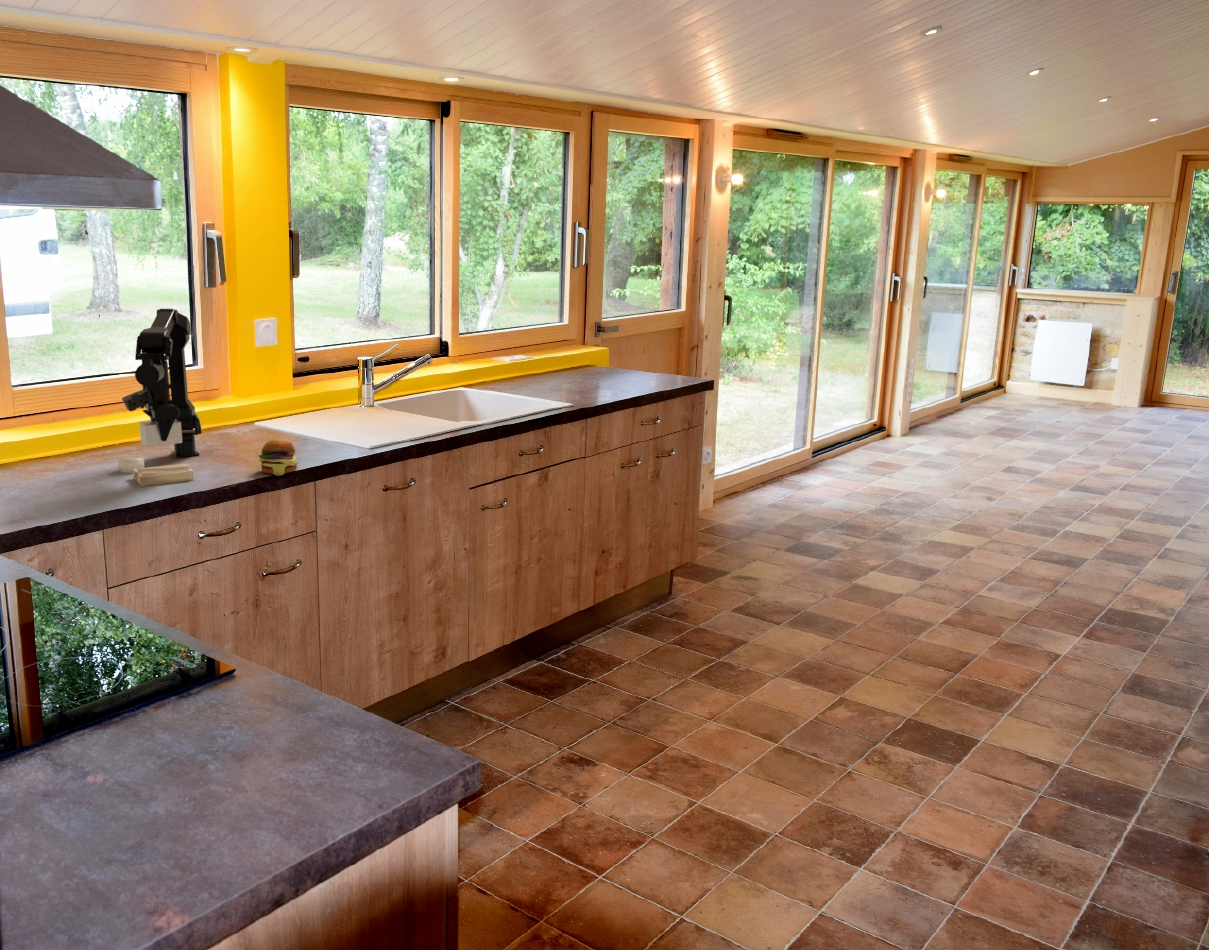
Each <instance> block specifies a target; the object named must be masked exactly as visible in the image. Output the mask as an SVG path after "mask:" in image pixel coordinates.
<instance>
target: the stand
mask: <svg viewBox="0 0 1209 950" xmlns="http://www.w3.org/2000/svg"><path fill="white" fill-rule="evenodd" d="M132 474H133V479H134V480H135V481H136V482H137V483H138V484H139V485H140V486H142V487H145V486H153V485H161V484H163V485H164V484H170V483H179V482H188V481H194V480H195V478H194V477H195V476H194V475H195V474H194V470H193V469H192V468H190V467H189V466H188V465H187V464H186V463H178V464H170V465H169V464H168V465H161V466H160V465H159V466H150V467H145V468H139V469H133V473H132Z"/></svg>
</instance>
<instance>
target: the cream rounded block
mask: <svg viewBox="0 0 1209 950" xmlns="http://www.w3.org/2000/svg"><path fill="white" fill-rule="evenodd" d="M117 461H118V472H120V473H121V474H122V473H123V474H134V473H133V469H139V468H146V467H145V457H144V456H143V455H125V456H124V455H123V456H121V457H119V458H117Z"/></svg>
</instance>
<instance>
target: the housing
mask: <svg viewBox="0 0 1209 950" xmlns="http://www.w3.org/2000/svg"><path fill="white" fill-rule="evenodd" d="M139 433H140V443H141V444H142V445H144V446H145V447H147V448H148V447H154V446H155V447H156V446H164V445H166V446H167V445H174V444H176V443H182V430H181V422H180V421H178V420H176V419H175V421H174V423H173V425H172V428H171V430H170V433H169V435H168V438H167V440H166V441H162V440H161V437H160V433H159V429H158V425H157V422H156V421H151V420H149V421H142V422H141V421H140V422H139Z"/></svg>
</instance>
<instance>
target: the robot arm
mask: <svg viewBox="0 0 1209 950" xmlns="http://www.w3.org/2000/svg"><path fill="white" fill-rule="evenodd" d="M191 334H192V324H191V322H190V319H189V317H188V316H185V315H183V314H181V313H180V312H179V311H178V309H175V308H159V309H156V316H155V318H154V320H153V322H152V323H151V326H150V327H147V328H144V329H143V330H141V332H139V335H137V336H136V338H137V339H136V346H135V347H136V348H135V356H134V357H135V358H134V359H135V361H141V365H139V366H138V367H137V368H136V369H135V371H134V376H135V377H134V378H135V380H136V382H138V384H139V385H141V386H142V387H141V388H142V389H141V390H137V391H134V392H132V393H131V394H128V395H126V396H123V397H121V399H122V402H123V405H124V406H125V408H126V410H128V411H129V412H133V411H136V410H137V409H139V408H140V409H143V410H142V412H143V413H144V414H145V415H147V417H149V420H150V421H156V422H157V425H158V429H159V433H160V437H161V440H162V441H166V440H167V438H168V435H169V433H170V430H171V428H172V425H173V423H174V421H175V419H176V420H178V421H180V422H181V430H182V443H176V444H173V446H174V451H171V454H172V455H173V456H174V457H175V458H184V457H194V456H199V455H200V453H199V451H197V450H196V436H198V435H201V434H202V432H203V431H202V430H203V429H202V425H201V421H200V418H199V415H198V414H197V413H196V407H195V406H194V405H193V403H192V402H191V400H190V399H189V393H188V381H187V369H186V365H187V364H186V355H185V348H186V346H187V344H188V342H189V341H190V336H191ZM144 408H145V409H144Z"/></svg>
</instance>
